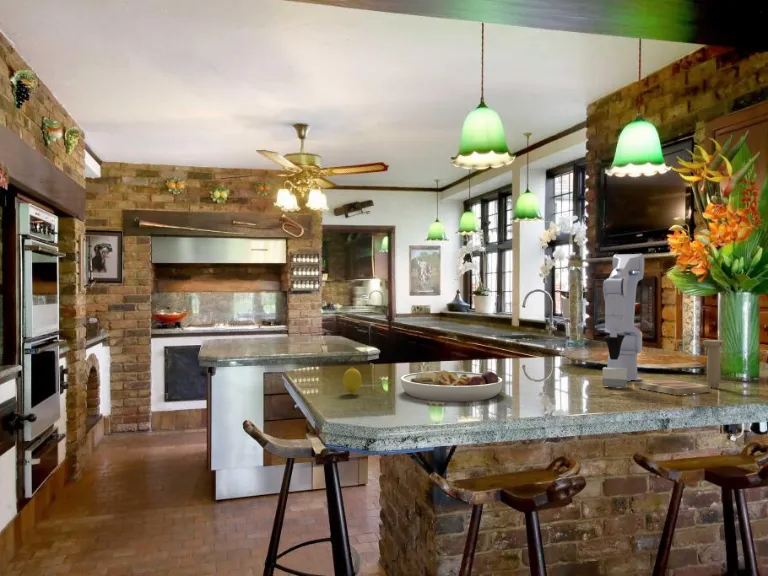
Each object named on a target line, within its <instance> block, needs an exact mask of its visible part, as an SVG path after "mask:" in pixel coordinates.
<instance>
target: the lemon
mask: <svg viewBox="0 0 768 576" xmlns="http://www.w3.org/2000/svg"><path fill="white" fill-rule="evenodd" d="M362 382H363V381H362V375H361V372H360V371H359V370H358V369H356V368H354V367H350V368H349V369H347V370H346V371H345V372H344V373H343V377H342V384H343V385H342V386H343V387H344V390H345V391H347V392H348V393H350V395H354V394H355V393H356V392H358V391H359V390H360V388H361V387H362Z"/></svg>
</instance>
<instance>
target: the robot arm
mask: <svg viewBox="0 0 768 576" xmlns="http://www.w3.org/2000/svg"><path fill="white" fill-rule="evenodd" d="M644 274H645V255H644V254H643V253H634V254H632V253H630V254H629V253H627V254H625V253H624V254H617V253H615V254H614V255H613V256H612V271H611V273H610V275H609V277H608V278H606V279H603V280H604V281H603V283H602V291H603V298H604V301H603V302H605V305H604V306H605V307H604V308H605V312H604V313H605V314H604V315H605V316H604V317H605V318H604V319H605V320H604V323H605V325H604V327H605V328H604V333H609V335H608V334H607V335H606V336H604V341H605V343H606V345H607V348H608V354H609V355H608V357H607V359H606V360H607V365H606V366H607V367H610V368H627V382H632V381H631V380H635V381H643V379H644V378H643V377H642V378H641V377H638V355H639V354H640V353H641V352H642V347H643V340H642V336H643V335H642V331H641V330H640V329H639V328H638V327H636V326H635V311H636V297H637V287H638V283H639V281H641V280H643V279H644Z"/></svg>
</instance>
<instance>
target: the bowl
mask: <svg viewBox="0 0 768 576" xmlns="http://www.w3.org/2000/svg"><path fill="white" fill-rule="evenodd" d="M400 384H401V387H402V389H403V390H404V392H405V393H406V394H408V395H409V396H410V397H413V398H416V399H420V400H425V399H426V400H425V401H435V402H451V403H452V402H456V403H457V402H458V403H459V402H463V403H464V402H477V401H484V400H489V399H491V398H494V397H495V396H497V395H498V394H499V393H500V392H501V390H502V387H503V379H502V378H501V377H499V376H498V374H497V373H495V372H493V371H484V372H483V373H479V372H471V371H470V372H469V371H448V370H445V369H444V370H438V371H422V372H415V373H409V374H405V375H402V376H401V378H400Z"/></svg>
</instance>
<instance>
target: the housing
mask: <svg viewBox="0 0 768 576" xmlns="http://www.w3.org/2000/svg"><path fill="white" fill-rule="evenodd" d="M627 384H628V381H627V368H610V367H606V366H605V367H602V387H603V386H608V387H621V388H626V386H628V385H627ZM626 389H627V388H626Z"/></svg>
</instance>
